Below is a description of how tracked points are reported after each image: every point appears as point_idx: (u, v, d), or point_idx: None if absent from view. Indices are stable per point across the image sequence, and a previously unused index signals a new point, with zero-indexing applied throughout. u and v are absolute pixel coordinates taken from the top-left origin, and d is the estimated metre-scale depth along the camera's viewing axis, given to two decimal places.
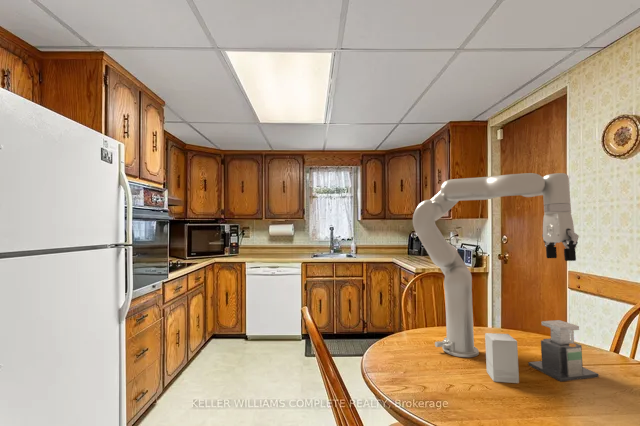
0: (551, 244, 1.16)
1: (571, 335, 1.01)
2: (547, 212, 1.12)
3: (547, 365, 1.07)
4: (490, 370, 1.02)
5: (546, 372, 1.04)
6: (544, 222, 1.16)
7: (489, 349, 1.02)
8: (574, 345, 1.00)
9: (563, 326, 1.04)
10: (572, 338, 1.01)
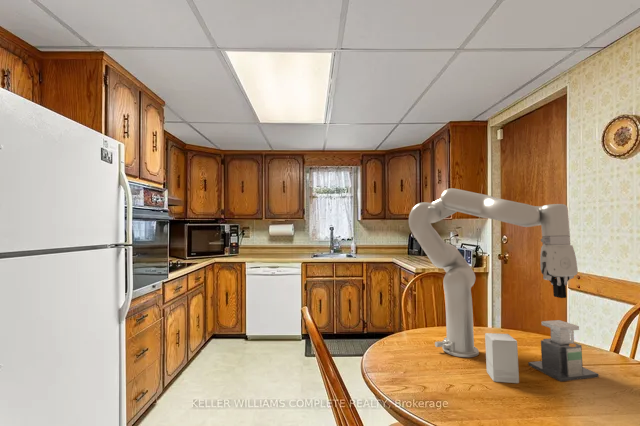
0: None
1: (571, 335, 1.01)
2: (568, 244, 1.05)
3: (547, 365, 1.07)
4: (490, 370, 1.02)
5: (546, 372, 1.04)
6: (555, 254, 1.05)
7: (489, 349, 1.02)
8: (574, 345, 1.00)
9: (563, 326, 1.04)
10: (572, 338, 1.01)
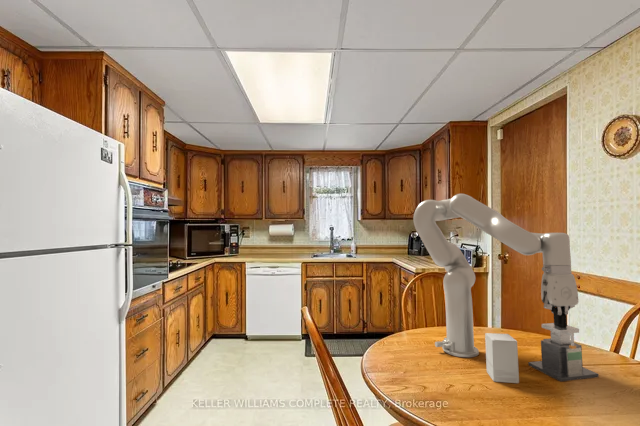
0: None
1: (571, 338, 1.01)
2: (569, 274, 1.04)
3: (547, 365, 1.07)
4: (490, 370, 1.02)
5: (546, 372, 1.04)
6: (556, 284, 1.04)
7: (489, 349, 1.02)
8: (574, 347, 1.00)
9: (563, 329, 1.04)
10: (572, 341, 1.01)
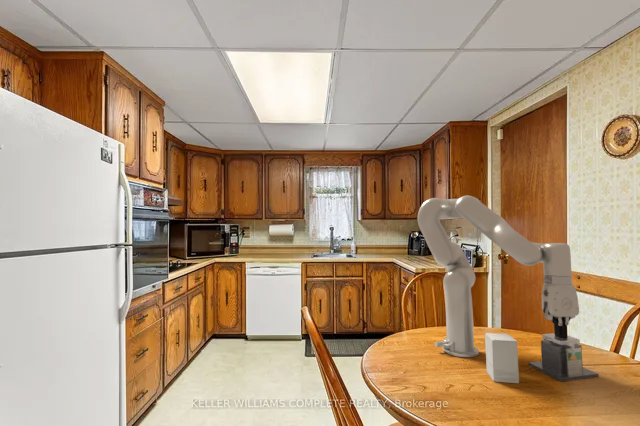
0: None
1: (572, 349, 1.01)
2: (570, 285, 1.04)
3: (547, 365, 1.07)
4: (490, 370, 1.02)
5: (546, 372, 1.04)
6: (557, 295, 1.04)
7: (489, 349, 1.02)
8: (575, 358, 1.00)
9: (564, 339, 1.04)
10: (573, 352, 1.00)
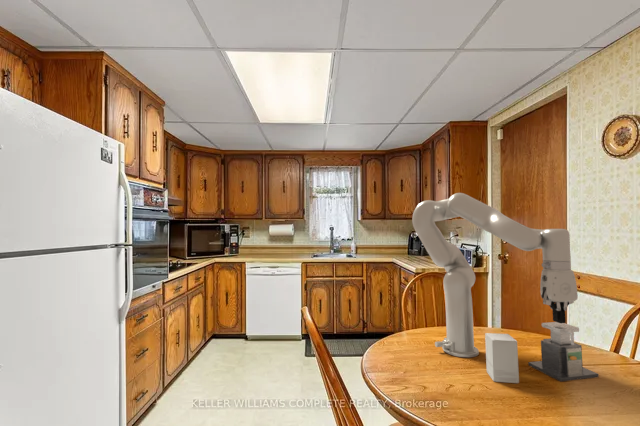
0: None
1: (571, 337, 1.01)
2: (568, 270, 1.04)
3: (547, 365, 1.07)
4: (490, 370, 1.02)
5: (546, 372, 1.04)
6: (555, 280, 1.04)
7: (489, 349, 1.02)
8: (575, 358, 1.00)
9: (563, 328, 1.04)
10: (572, 340, 1.01)
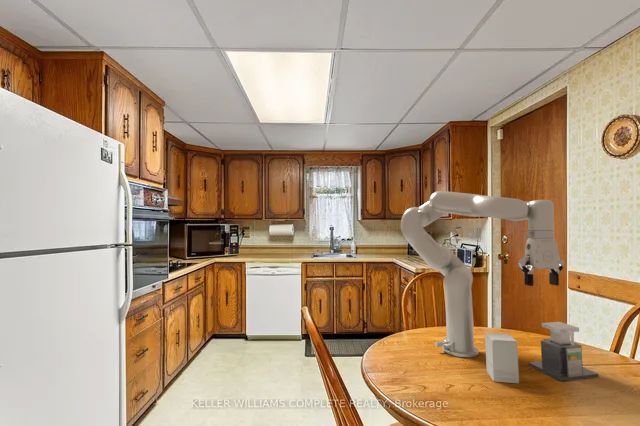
0: None
1: (571, 337, 1.01)
2: (551, 238, 1.09)
3: (547, 365, 1.07)
4: (490, 370, 1.02)
5: (546, 372, 1.04)
6: (538, 248, 1.10)
7: (489, 349, 1.02)
8: (575, 358, 1.00)
9: (563, 328, 1.04)
10: (572, 340, 1.01)
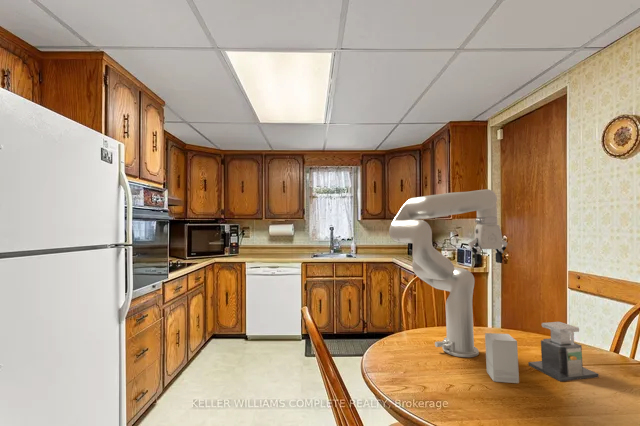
0: None
1: (571, 337, 1.01)
2: (494, 223, 1.32)
3: (547, 365, 1.07)
4: (490, 370, 1.02)
5: (546, 372, 1.04)
6: (484, 231, 1.32)
7: (489, 349, 1.02)
8: (575, 358, 1.00)
9: (563, 328, 1.04)
10: (572, 340, 1.01)
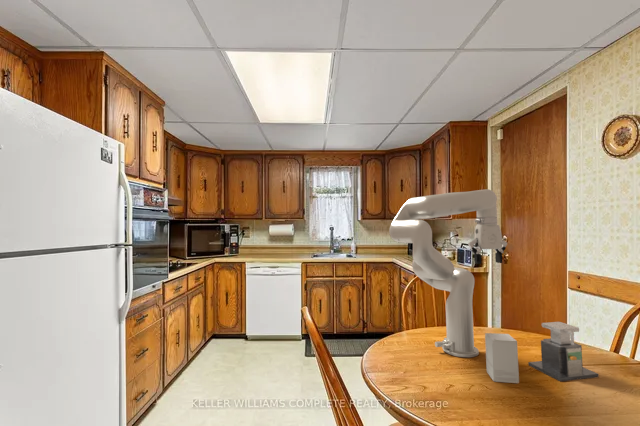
0: None
1: (571, 337, 1.01)
2: (494, 223, 1.32)
3: (547, 365, 1.07)
4: (490, 370, 1.02)
5: (546, 372, 1.04)
6: (484, 231, 1.32)
7: (489, 349, 1.02)
8: (575, 358, 1.00)
9: (563, 328, 1.04)
10: (572, 340, 1.01)
